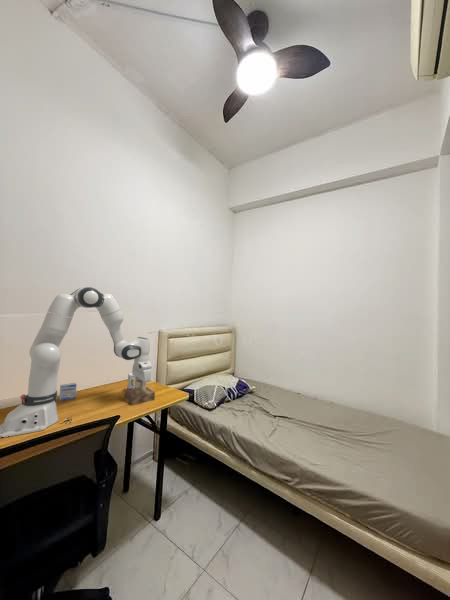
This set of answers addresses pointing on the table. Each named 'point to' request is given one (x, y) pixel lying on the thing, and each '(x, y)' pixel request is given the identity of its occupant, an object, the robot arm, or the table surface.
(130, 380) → the ink box
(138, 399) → the walnut block
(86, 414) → the table surface
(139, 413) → the table surface
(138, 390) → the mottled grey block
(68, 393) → the medicine box
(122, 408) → the table surface
